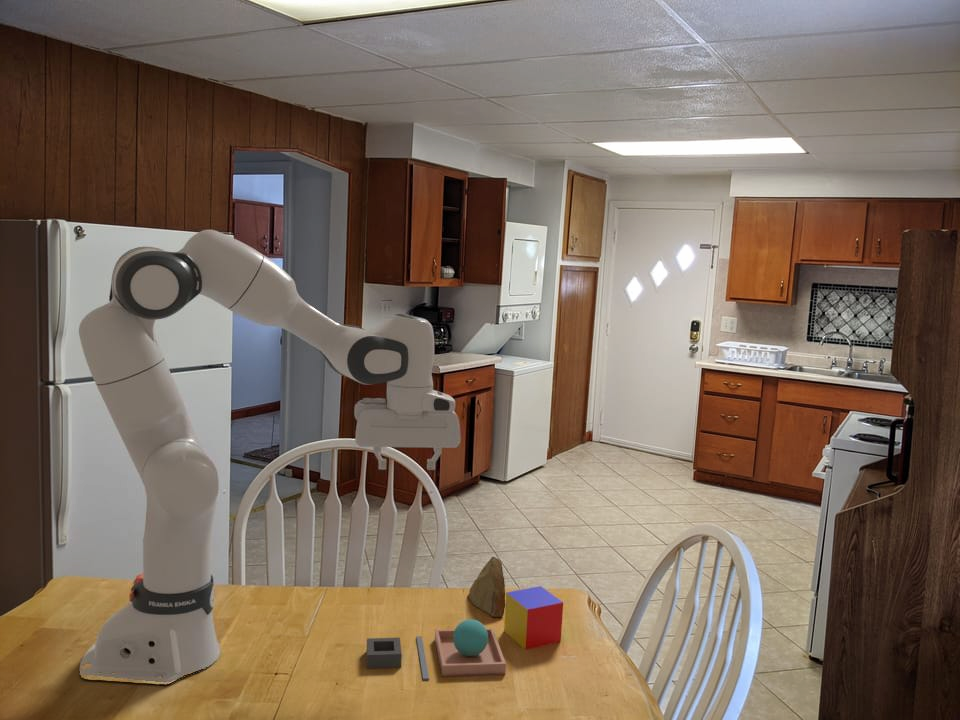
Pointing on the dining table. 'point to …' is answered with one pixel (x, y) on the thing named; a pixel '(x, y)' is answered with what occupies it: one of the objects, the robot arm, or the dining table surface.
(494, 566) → the rock
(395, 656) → the grey square frame
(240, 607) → the dining table surface
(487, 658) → the tray
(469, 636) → the ball
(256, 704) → the dining table surface
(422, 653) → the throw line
